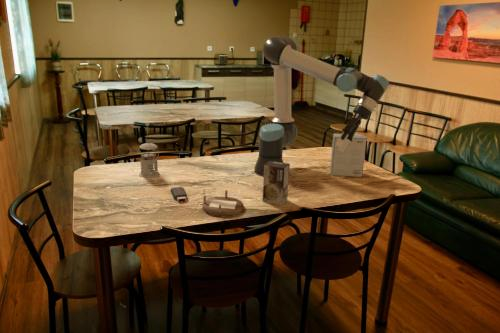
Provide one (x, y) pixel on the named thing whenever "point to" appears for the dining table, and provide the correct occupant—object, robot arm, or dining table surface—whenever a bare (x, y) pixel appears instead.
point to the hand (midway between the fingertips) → (339, 148)
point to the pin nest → (222, 206)
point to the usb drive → (179, 194)
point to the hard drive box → (348, 157)
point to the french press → (149, 160)
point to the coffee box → (276, 182)
